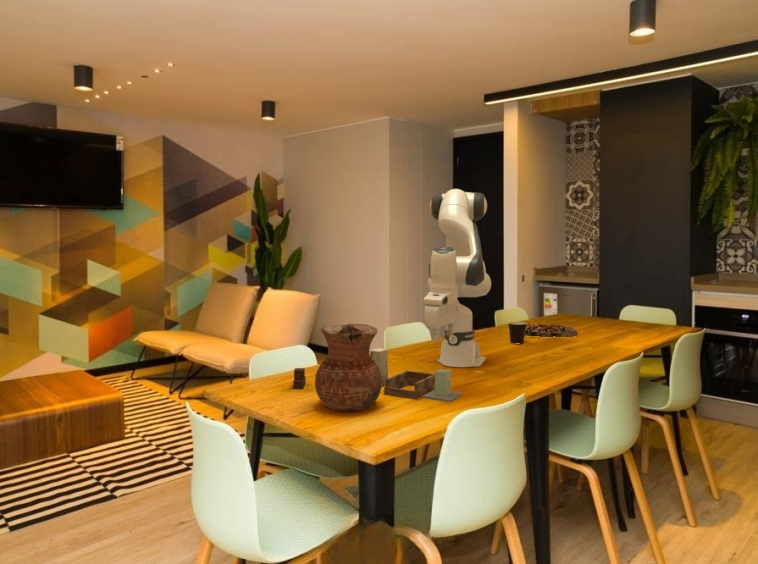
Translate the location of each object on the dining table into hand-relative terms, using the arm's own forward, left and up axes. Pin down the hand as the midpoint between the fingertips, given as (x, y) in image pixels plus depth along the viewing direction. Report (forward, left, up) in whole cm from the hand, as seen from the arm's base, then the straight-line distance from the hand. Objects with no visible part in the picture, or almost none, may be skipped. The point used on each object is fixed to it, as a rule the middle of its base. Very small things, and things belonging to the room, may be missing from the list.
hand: (443, 338), depth 194 cm
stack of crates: (+14, -48, -20) cm, 54 cm away
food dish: (-140, -4, -20) cm, 141 cm away
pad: (0, 0, -20) cm, 20 cm away
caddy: (0, -12, -20) cm, 23 cm away
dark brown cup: (-105, -9, -20) cm, 107 cm away
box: (-2, -26, -20) cm, 33 cm away
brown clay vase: (+25, -21, -20) cm, 38 cm away
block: (0, 0, -19) cm, 19 cm away
